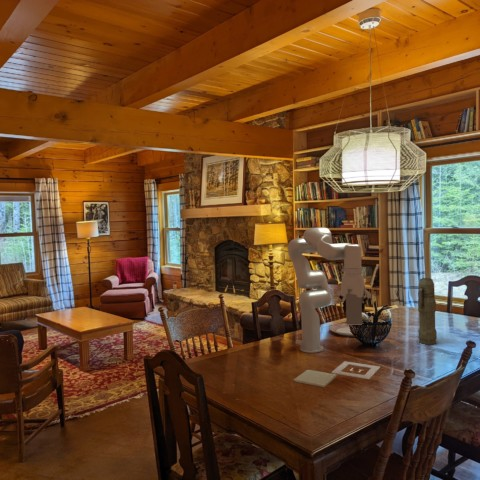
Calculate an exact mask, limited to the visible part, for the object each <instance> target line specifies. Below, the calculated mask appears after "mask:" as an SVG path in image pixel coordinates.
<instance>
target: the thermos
mask: <svg viewBox="0 0 480 480" xmlns="http://www.w3.org/2000/svg"><path fill="white" fill-rule="evenodd" d="M435 294H436V293H435V282H434V280H433V279H432V278H431V277H422V278H419V282H418V299H417V310H418V317H419V318H418V320H419V325H418V326H419V328H418V343H419V344H420V343H421V344H420V345H423V344H425V345H424V346H435V345H437V339H438V338H437V337H438V336H437V330H436V311H437V305H436V303H437V301H436V298H435V297H436V296H435ZM434 344H435V345H434Z"/></svg>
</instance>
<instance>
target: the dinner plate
mask: <svg viewBox="0 0 480 480" xmlns="http://www.w3.org/2000/svg"><path fill="white" fill-rule="evenodd" d="M328 329H329V330H330V331H332V332H334V333H335V334H338V335H340V336H345V337H354V336H353V334H352V333H351V332H350V329H349V325H347V322H346V323H345V322H344V323H337V324H334V325H332V324H331V326H330V327H329V328H328Z"/></svg>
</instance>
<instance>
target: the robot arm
mask: <svg viewBox="0 0 480 480" xmlns="http://www.w3.org/2000/svg"><path fill="white" fill-rule="evenodd" d="M287 252H288V253H287V254H288V257H289V259H290V261H291V263H292V265H293V269H294V274H295V278H296V282H297V285H298V287H299V288H300V289H302V290H303V289H304V291H302V292H301V293H300V294H299V296H298V302H299V303H298V304H299V306H300V319H301V340H300V339H296V340H295V344H296V345H300V346H299V350H300V351H301V352H304V353H309V354H311V353H312V354H313V353H315V354H316V353H320V352H323V351H324V346H323V345H321V321H320V315H319V313H318V312H317V310H316V309H317V308H323V307H327V306H328V307H329V305H330V304H331V303H332V295H331V291H330V287H329V284H328V279H327V277H326V274H325V273H324V272H323V270H320V269H311V265H310V263H309V259H307V258H306V256H304V255H303V254H313V253H318V254H319V256H320V257H322V258H323V259H325V260H328V261H337V260H343V265H344V266H343V268H341V272H343V274H342V276H341V282H340V283H341V285H340V288H339V290H337V291H336V295H337V297H338V298H339V299H340V300H341V302H342V308H343V311H344V312H346V294H348V291H347V289H350V290H352V291H351V292H350V293H349V294H351V295H357V297H358V298H361V297H362V313H363V312H364V311H365V310H366V302H367V301H368V300H369V299H370V298H371V297H372V293H370V292H369V290H367V289H366V282H365V278H364V274H362V271H363V270H362V247H361V245H360V244H358V243H348V242H342V243H341V242H340V243H337V242H336V243H333V239H332V232H331V230H330V229H329V228H327V227H325V226H324V227H310V228H308V229H306V230H305V231H304V232H303V237H297V238H293V239H292V240H290V241H289V243H288V246H287ZM314 288H315V289H314ZM305 289H307V290H305ZM309 289H310V290H309ZM365 295H366V296H365Z"/></svg>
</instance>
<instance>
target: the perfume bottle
mask: <svg viewBox="0 0 480 480" xmlns="http://www.w3.org/2000/svg"><path fill="white" fill-rule="evenodd" d="M347 291H348V294H346V311H345V316H346V317H345V318H346V323H347V325H362V324H363V312H362V297H361V298H358V297H357V295H351V294H349V293H350V292H351V291H352V290H350V289H347Z"/></svg>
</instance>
